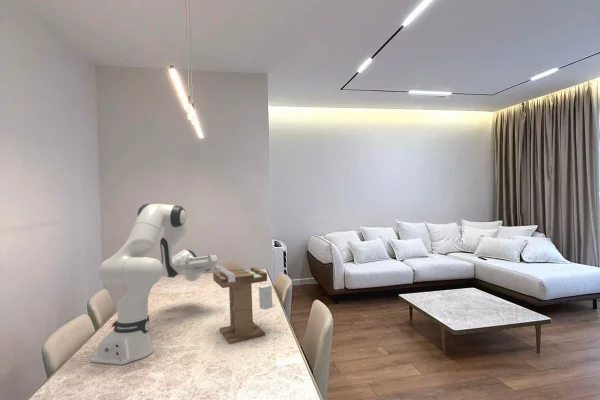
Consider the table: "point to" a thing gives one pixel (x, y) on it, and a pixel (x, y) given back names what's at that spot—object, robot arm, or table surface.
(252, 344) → the table surface
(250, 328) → the walnut pedestal
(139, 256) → the robot arm
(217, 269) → the aluminium bar
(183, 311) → the table surface
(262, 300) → the skincare box
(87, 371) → the table surface
